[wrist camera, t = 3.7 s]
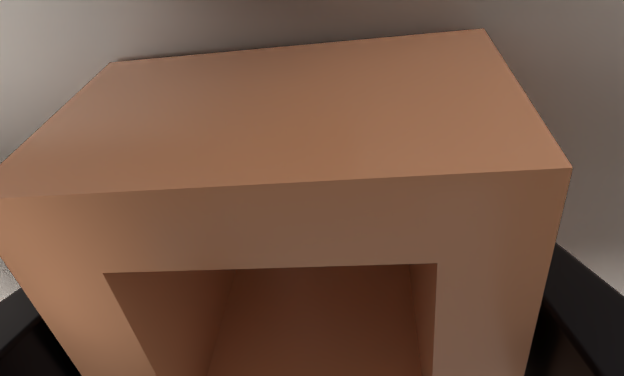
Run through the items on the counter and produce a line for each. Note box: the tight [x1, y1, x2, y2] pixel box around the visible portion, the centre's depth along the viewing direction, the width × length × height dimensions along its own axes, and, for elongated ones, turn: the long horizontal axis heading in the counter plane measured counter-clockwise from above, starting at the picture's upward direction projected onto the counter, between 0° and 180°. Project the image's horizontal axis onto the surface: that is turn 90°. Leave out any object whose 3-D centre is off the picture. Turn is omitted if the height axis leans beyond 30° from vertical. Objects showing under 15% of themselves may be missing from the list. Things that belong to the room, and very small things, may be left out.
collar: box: [0, 28, 573, 376], centre depth 8 cm, size 6×6×4 cm
